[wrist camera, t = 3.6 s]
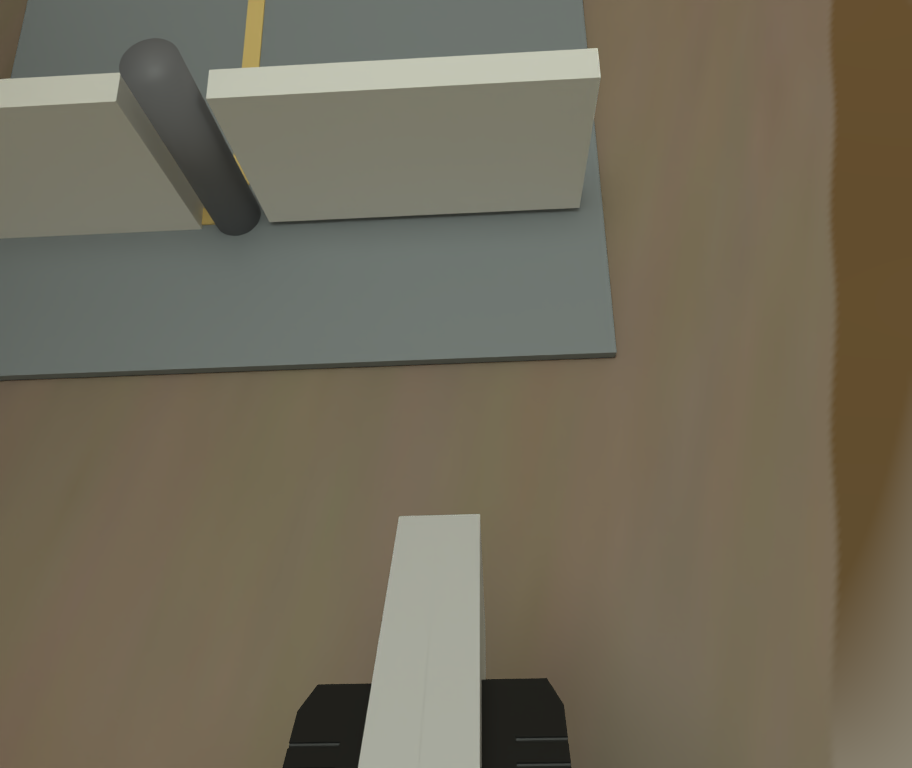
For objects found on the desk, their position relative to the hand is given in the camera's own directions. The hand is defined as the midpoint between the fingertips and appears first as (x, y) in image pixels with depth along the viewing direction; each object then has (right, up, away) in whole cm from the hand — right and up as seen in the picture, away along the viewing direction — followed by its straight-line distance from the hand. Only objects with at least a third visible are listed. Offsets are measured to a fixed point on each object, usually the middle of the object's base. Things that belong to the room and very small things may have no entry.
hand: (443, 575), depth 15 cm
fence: (-14, +11, +19) cm, 26 cm away
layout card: (-7, +14, +21) cm, 26 cm away
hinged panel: (-1, +11, +18) cm, 21 cm away
